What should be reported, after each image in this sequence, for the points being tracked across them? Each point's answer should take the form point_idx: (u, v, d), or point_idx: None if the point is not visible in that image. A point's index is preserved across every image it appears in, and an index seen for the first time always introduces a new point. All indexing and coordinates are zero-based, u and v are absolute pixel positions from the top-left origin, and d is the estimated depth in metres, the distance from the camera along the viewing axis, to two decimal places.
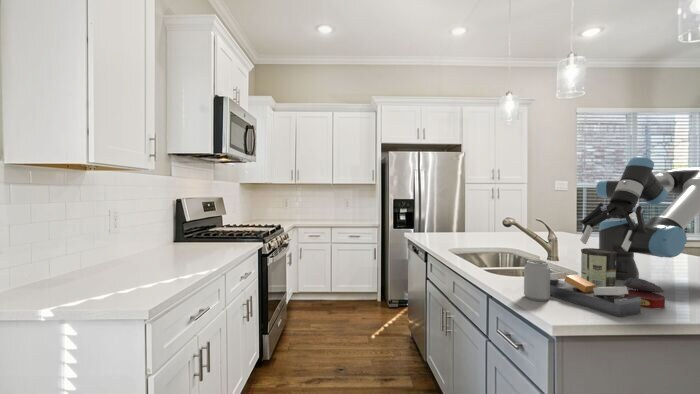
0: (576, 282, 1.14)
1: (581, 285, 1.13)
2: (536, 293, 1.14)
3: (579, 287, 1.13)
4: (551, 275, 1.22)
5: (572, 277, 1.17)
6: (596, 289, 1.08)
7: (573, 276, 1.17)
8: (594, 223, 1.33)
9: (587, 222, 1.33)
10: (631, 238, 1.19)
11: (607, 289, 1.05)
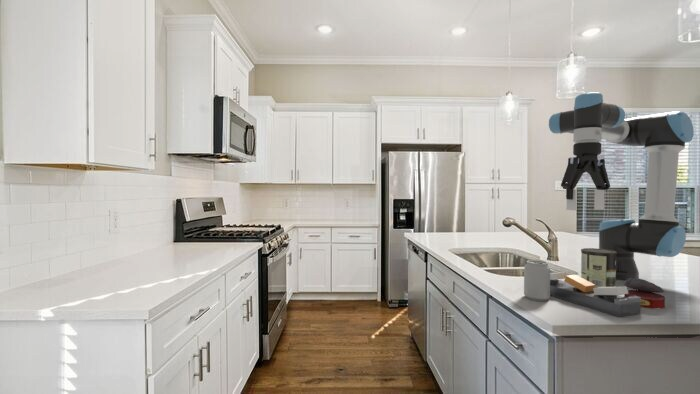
0: (576, 282, 1.14)
1: (581, 285, 1.13)
2: (536, 293, 1.14)
3: (579, 287, 1.13)
4: (551, 275, 1.22)
5: (572, 277, 1.17)
6: (596, 289, 1.08)
7: (573, 276, 1.17)
8: None
9: (573, 185, 1.12)
10: None
11: (607, 289, 1.05)
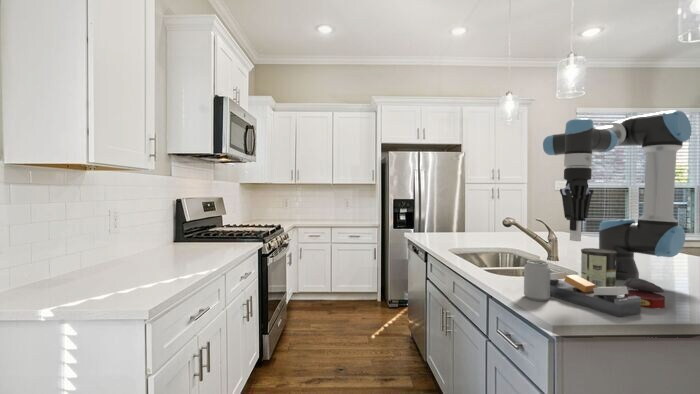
0: (576, 282, 1.14)
1: (581, 285, 1.13)
2: (536, 293, 1.14)
3: (579, 287, 1.13)
4: (551, 275, 1.22)
5: (572, 277, 1.17)
6: (596, 289, 1.08)
7: (573, 276, 1.17)
8: None
9: (576, 217, 1.15)
10: None
11: (607, 289, 1.05)
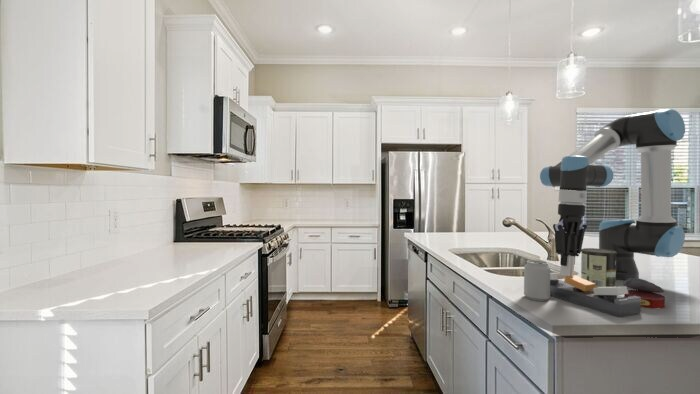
0: (576, 282, 1.14)
1: (581, 284, 1.13)
2: (536, 293, 1.14)
3: (579, 287, 1.13)
4: (551, 275, 1.22)
5: (572, 277, 1.17)
6: (596, 289, 1.08)
7: (573, 277, 1.18)
8: None
9: (566, 253, 1.17)
10: None
11: (607, 289, 1.05)
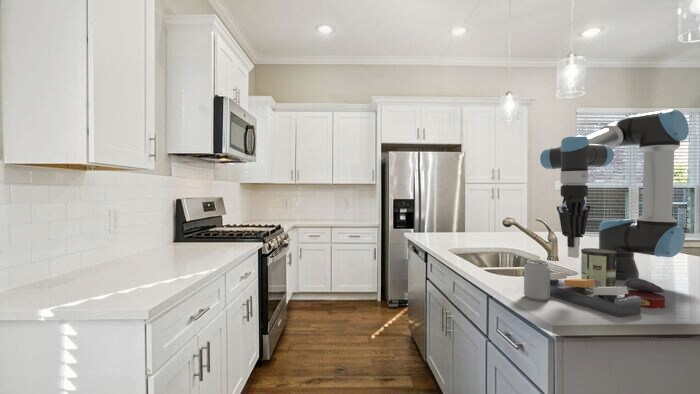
0: (575, 281, 1.15)
1: (580, 282, 1.13)
2: (536, 293, 1.14)
3: (579, 285, 1.13)
4: (551, 275, 1.22)
5: (571, 279, 1.17)
6: (596, 289, 1.08)
7: (571, 279, 1.18)
8: None
9: (573, 234, 1.16)
10: None
11: (607, 289, 1.05)
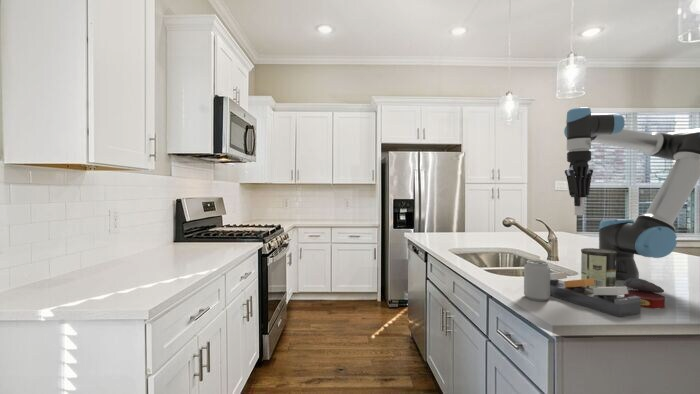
0: (575, 281, 1.15)
1: (580, 281, 1.13)
2: (536, 293, 1.14)
3: (579, 284, 1.13)
4: (551, 275, 1.22)
5: (570, 280, 1.17)
6: (596, 289, 1.08)
7: (571, 280, 1.18)
8: None
9: (579, 194, 1.31)
10: None
11: (607, 289, 1.05)
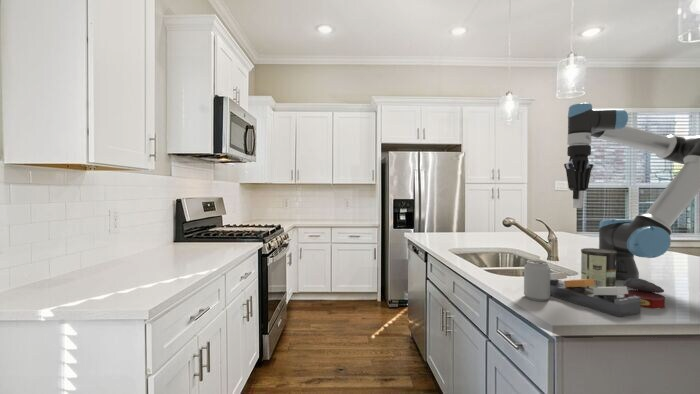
0: (575, 281, 1.15)
1: (580, 281, 1.13)
2: (536, 293, 1.14)
3: (579, 284, 1.13)
4: (551, 275, 1.22)
5: None
6: (596, 289, 1.08)
7: None
8: None
9: (578, 187, 1.35)
10: None
11: (607, 289, 1.05)
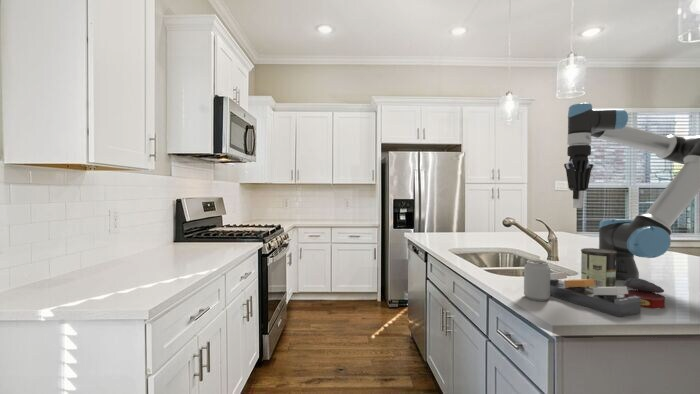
0: (575, 281, 1.15)
1: (580, 281, 1.13)
2: (536, 293, 1.14)
3: (579, 284, 1.13)
4: (551, 275, 1.22)
5: None
6: (596, 289, 1.08)
7: None
8: None
9: (578, 187, 1.35)
10: None
11: (607, 289, 1.05)
